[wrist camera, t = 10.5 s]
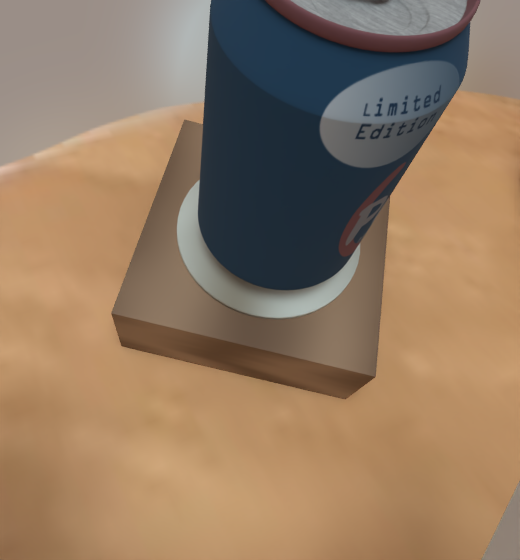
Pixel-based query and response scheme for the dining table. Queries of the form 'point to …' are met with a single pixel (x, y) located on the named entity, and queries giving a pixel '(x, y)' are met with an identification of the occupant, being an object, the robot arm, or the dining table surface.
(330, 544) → the dining table surface
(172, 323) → the plinth
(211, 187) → the soda can
